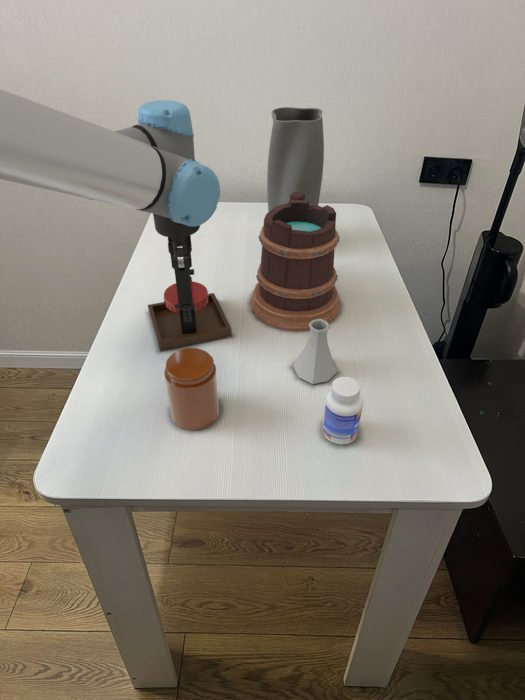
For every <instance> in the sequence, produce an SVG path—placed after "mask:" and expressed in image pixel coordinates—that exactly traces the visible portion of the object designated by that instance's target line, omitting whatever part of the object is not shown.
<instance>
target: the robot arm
mask: <svg viewBox="0 0 525 700" xmlns="http://www.w3.org/2000/svg"><path fill="white" fill-rule="evenodd" d="M137 114H138V115H137V116H138V118H137V122H138V124H135V125H132V126H130V127H125V128H122V129H117V130H111V129H108V128H106V127H103V126H100V125H98V124H95V123H94V122H93V123H92V122H90V121H87V120H85V119H83V118H80V117H77V116H74V115H71V114H68V113H66V112H63V111H61V110H58V109H55V108H53V107H50V106H47V105H44V104H41V103H40V102H36V101H34V100H31V99H29V98H25V97H23V96H21V95H18V94H15V93H12V92H9V91H8V90H4V89H2V88H0V180H3V181H7V182H13V183H15V184H16V183H17V184H22V185H26V186H30V187H35V188H39V189H44V190H48V191H53V192H57V193H61V194H66V195H71V196H74V197H75V196H76V197H79V198H84V199H87V200H89V201H90V200H91V201H98V202H102V203H107V204H112V205H116V206H121V207H125V208H129V209H134V210H137V211H140V212H143V213H144V212H145V213H148V214H152V216H153V217H152V218H153V224H154V228H155V231H156V232H157V233H158V235H160V236H162V237H166V238H167V242H168V243H167V248H168V249H167V250H168V253H169V254H170V262H171V268H172V269H173V271H174V278H175V283H176V287H177V295H178V304H175V308H178V309H179V313H180V321H181V328H182V334H192V333H197V329H196V320H195V310H194V302H193V299H192V289H191V281H192V282H193V279H192V276H194V275H195V268H192V267H193V262H192V252H193V246H192V238H191V236H192V235H194V234H196V233H197V232H198V231H199V230H200V228H201V225H203V224H205V223H206V222H207V221H209V220H210V219H211V218H212V217H213V215H214V213H215V212H216V210H217V208H218V204H219V200H220V198H221V186H220V181H219V178H218V176H217V174H216V173H215V172H214V170H213V169H212V168H210V167H209V166H207V165H204V164H202V163H200V162H199V161H197V160H196V157H195V142H194V141H195V140H194V136H195V134H194V130H193V123H192V117H191V113H190V109H189V107H188V106H187V105H185V103H183V102H180V101H177V100H168V99H167V100H166V99H161V100H152V101H148V102H145V103H143V104H141V105H140V106H139V107H138V110H137Z"/></svg>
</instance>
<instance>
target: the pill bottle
mask: <svg viewBox="0 0 525 700" xmlns="http://www.w3.org/2000/svg"><path fill="white" fill-rule="evenodd" d="M324 401H325V402H324V410H323V411H324V412H323V419H322V428H321V429H322V434H323V436H324V437H325V438H326V439H327V440H328V441H329V442H331V443H333V444H336V445H348V444H351V443H352V442H353V441H355V439H356V438H357V436H358V433H359V428H360V424H361V423H360V422H361V416H362V413H363V407H364V399H363V396H362V395H361V385H360V383H359V382H358V380H356V379H354V378H353V377H349V376H339V377H337V378H335V379H334V380H333V381H332V383H331V388H330V390H329V391H328V392H327V393H326V396H325V400H324Z"/></svg>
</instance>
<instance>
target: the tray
mask: <svg viewBox="0 0 525 700" xmlns="http://www.w3.org/2000/svg"><path fill="white" fill-rule="evenodd" d="M208 297H209V298H208V303H207V305H206V306H205V307H204V308H202V309H201V310H199V311H196V312H195V320H196V329H197V333H192V334H182V328H181V321H180V313H176V312H173V311H171V310H169V309H168V308H167V307H166V306H165V303H164V301H161V302H156V303H150V304H147V309H148V310H147V311H148V314H149V319H150V321H151V325H152V329H153V332H154V337H155V340H156V343H157V346H158V350H159V352H162V351H167V350H172V349H178V348H182V347H183V348H184V347H187V346H192V345H197V344H203V343H207V342H212V341H216V340H222V339H227V338H231V337H232V328H231V325H230V324H229V321H228V319H227V317H226V315H225V312H224V311H223V309H222V307H221V304H220V303H219V300H218V298H217V296H216V294H215V292H211V293H208Z"/></svg>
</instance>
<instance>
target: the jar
mask: <svg viewBox="0 0 525 700" xmlns="http://www.w3.org/2000/svg"><path fill="white" fill-rule="evenodd" d="M214 361H215V360H214V358H213V356H212V355H211V354H210V353H209V352H207V351H206V350H205V349H201V348H196V347H187V348H182V349H178V350H176V351H175V352H173V353H171V354H170V356H169V357H168V358H167V359H166V361H165V368H164V372H163V373H164V374H163V375H164V380H165V381H164V382H165V386H166V392H167V393H166V394H167V399H168V404H169V405H168V406H169V410H170V416H171V420H172V421H173V423H174V424H175V425H176V426H177V427H179V428H180V429H183V430H187V431H200V430H203V429H207V428H208V427H211V426H212V425H213V424H214V423H215V422H216V421H217V419H218V417H219V415H220V401H219V390H218V389H219V387H218V376H217V375H218V374H217V365H216V364H215V362H214Z"/></svg>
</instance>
